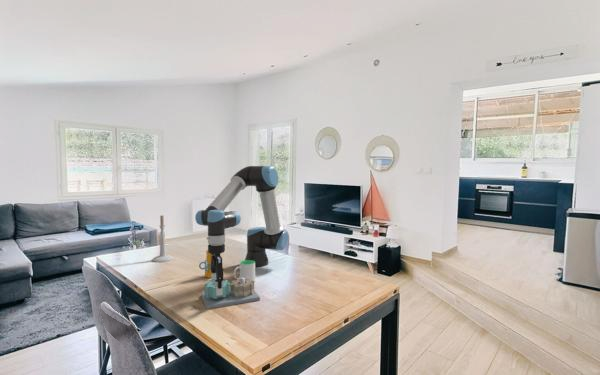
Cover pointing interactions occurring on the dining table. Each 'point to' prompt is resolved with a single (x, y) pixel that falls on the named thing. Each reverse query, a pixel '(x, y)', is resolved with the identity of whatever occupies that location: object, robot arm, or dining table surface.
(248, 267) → the mug
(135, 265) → the dining table surface
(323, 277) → the dining table surface
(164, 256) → the candlestick
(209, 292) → the gear
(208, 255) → the orange post with rings
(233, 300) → the gear board
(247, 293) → the gear
